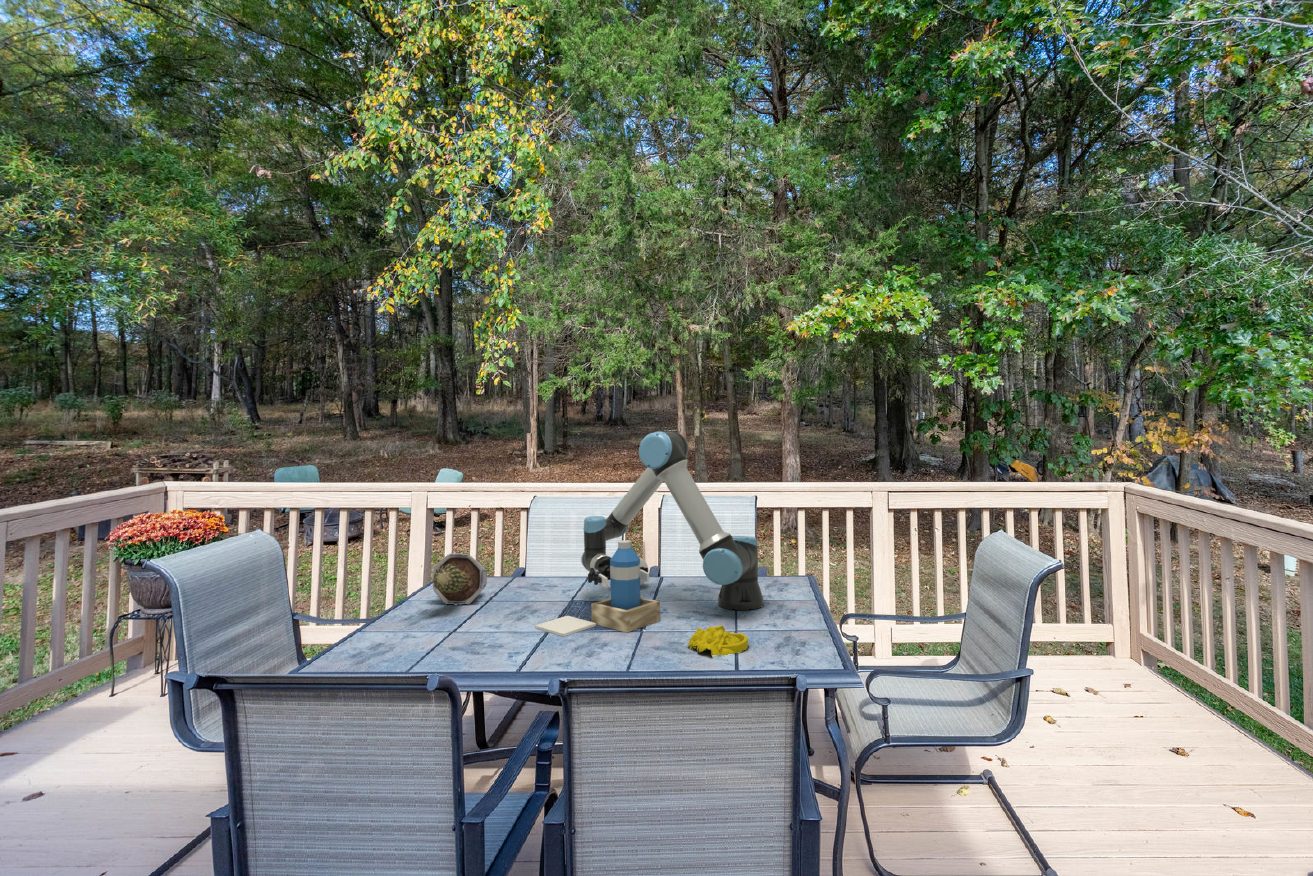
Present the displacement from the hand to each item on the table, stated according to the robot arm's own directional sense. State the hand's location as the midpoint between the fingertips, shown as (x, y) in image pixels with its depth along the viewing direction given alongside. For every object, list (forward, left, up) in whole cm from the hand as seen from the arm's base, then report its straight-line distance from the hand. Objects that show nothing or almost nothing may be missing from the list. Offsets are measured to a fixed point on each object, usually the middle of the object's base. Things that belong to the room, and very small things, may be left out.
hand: (627, 580), depth 200 cm
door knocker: (-33, -1, -14) cm, 36 cm away
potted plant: (+61, +21, -14) cm, 66 cm away
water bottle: (+2, -1, -14) cm, 14 cm away
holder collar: (+2, -1, -13) cm, 14 cm away
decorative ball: (+30, -34, -14) cm, 48 cm away
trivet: (+13, +14, -13) cm, 23 cm away
